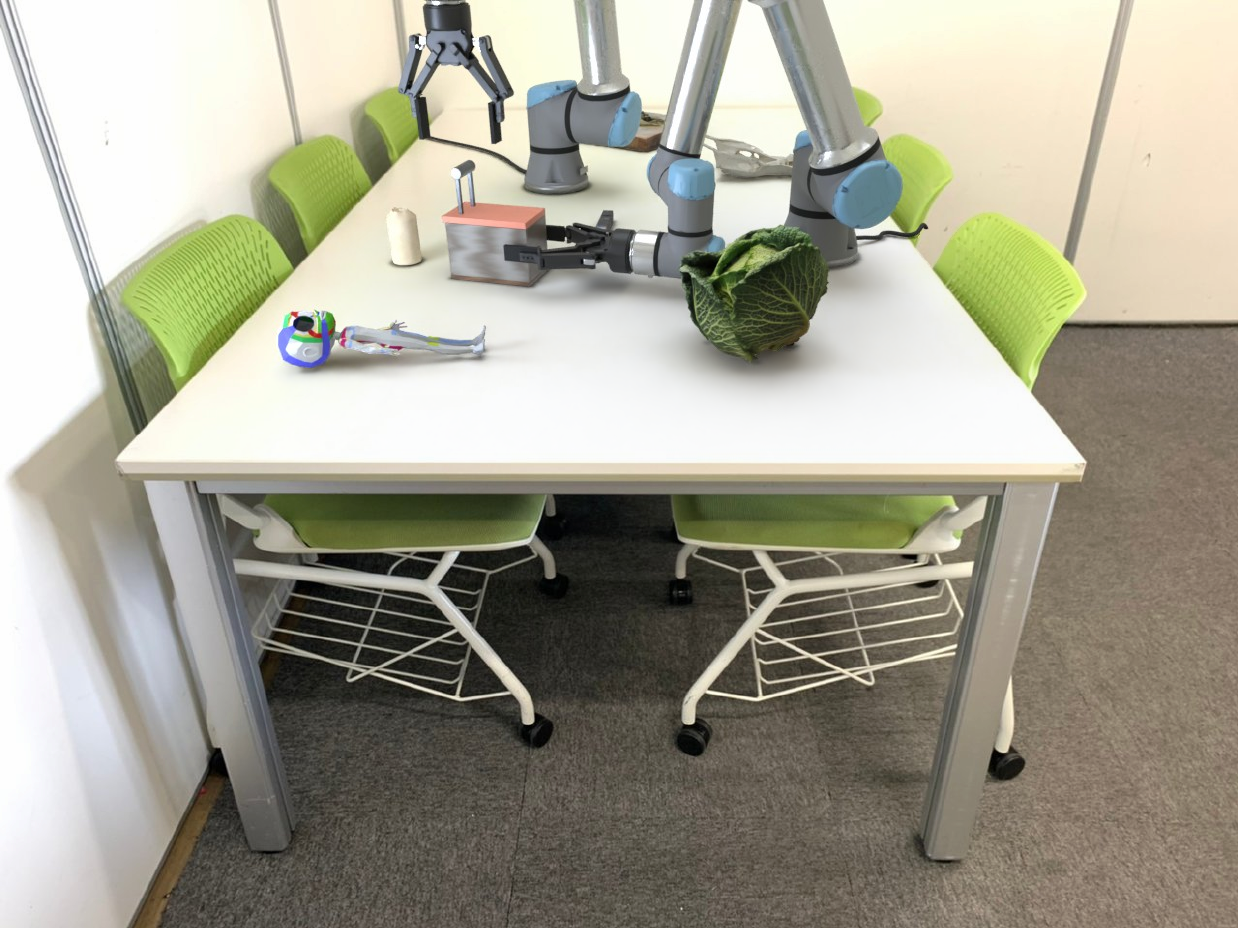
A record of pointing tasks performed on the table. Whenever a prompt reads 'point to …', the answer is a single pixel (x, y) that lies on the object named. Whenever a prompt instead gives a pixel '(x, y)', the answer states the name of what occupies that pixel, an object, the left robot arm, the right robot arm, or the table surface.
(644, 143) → the plaque
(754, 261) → the vegetable
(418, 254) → the candle
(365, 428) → the table surface
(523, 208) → the lid
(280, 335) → the toy
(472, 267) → the chest
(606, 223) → the pillar
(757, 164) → the anatomical model
